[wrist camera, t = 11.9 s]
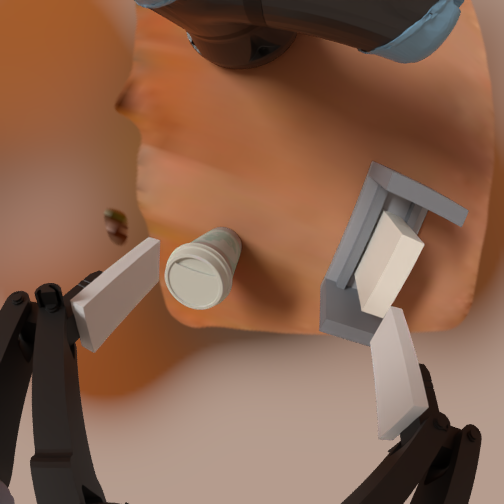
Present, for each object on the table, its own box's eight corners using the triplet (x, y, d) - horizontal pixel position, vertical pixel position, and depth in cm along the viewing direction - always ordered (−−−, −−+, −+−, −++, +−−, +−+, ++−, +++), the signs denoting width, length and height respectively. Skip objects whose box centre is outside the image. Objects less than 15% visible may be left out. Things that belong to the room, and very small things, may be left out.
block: (382, 208, 35) (402, 234, 26) (400, 217, 35) (424, 244, 26) (353, 271, 40) (361, 311, 31) (371, 278, 39) (383, 318, 30)
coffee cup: (262, 248, 42) (243, 290, 32) (224, 279, 46) (196, 324, 35) (222, 206, 41) (188, 234, 30) (187, 241, 45) (148, 276, 34)
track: (372, 160, 34) (393, 171, 24) (433, 189, 33) (468, 210, 23) (320, 285, 43) (319, 330, 33) (376, 305, 42) (388, 351, 32)
